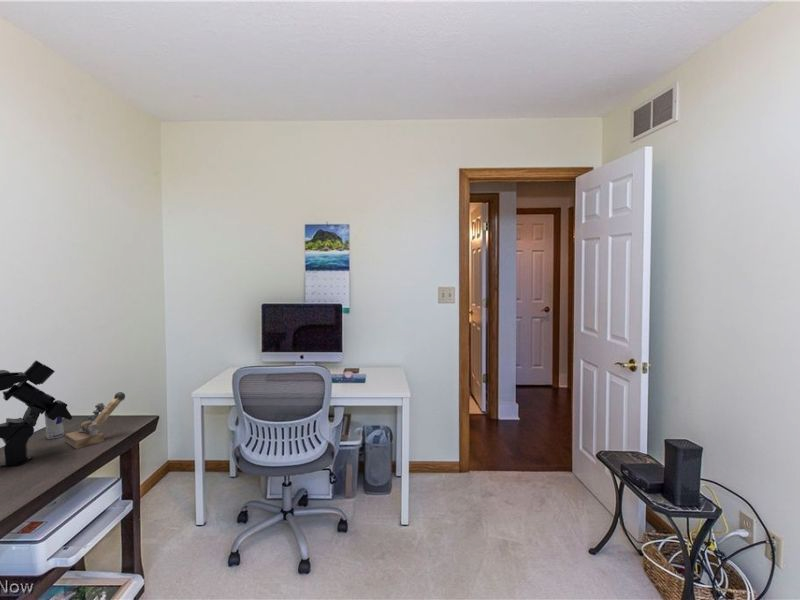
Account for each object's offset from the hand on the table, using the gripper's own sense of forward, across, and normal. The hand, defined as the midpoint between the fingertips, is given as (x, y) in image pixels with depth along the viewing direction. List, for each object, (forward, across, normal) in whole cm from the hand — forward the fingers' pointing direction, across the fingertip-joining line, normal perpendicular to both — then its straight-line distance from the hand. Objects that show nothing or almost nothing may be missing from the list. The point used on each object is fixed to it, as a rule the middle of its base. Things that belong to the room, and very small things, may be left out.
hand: (71, 418), depth 167 cm
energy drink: (+7, -19, -8) cm, 21 cm away
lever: (+8, 0, 0) cm, 8 cm away
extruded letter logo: (+19, -28, +4) cm, 34 cm away
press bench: (+11, -3, -4) cm, 12 cm away
